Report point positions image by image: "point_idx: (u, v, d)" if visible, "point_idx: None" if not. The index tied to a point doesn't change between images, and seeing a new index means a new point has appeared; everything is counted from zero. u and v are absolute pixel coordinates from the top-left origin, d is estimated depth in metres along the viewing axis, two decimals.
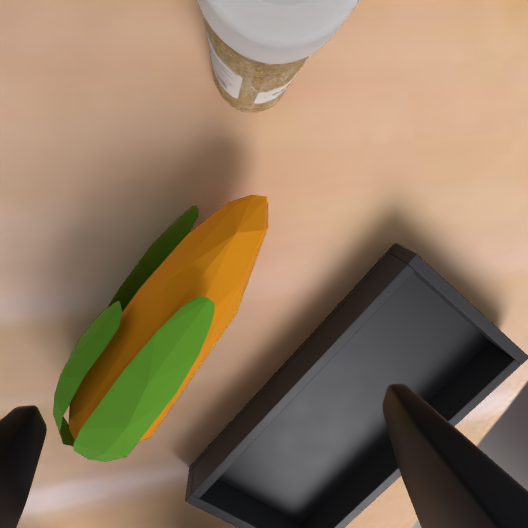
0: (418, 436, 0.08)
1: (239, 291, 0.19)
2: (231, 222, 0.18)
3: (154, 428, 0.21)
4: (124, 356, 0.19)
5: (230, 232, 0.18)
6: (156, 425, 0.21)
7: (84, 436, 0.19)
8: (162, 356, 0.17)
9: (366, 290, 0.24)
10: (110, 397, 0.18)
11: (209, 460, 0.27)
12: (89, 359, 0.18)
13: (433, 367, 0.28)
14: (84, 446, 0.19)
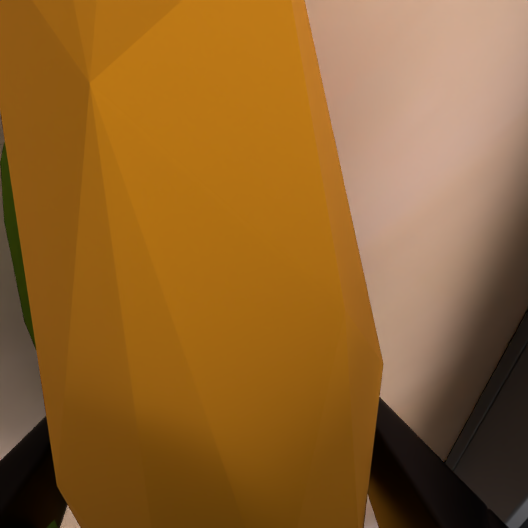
0: (376, 439, 0.08)
1: (360, 340, 0.04)
2: (28, 40, 0.02)
3: None
4: None
5: (63, 113, 0.02)
6: None
7: None
8: None
9: None
10: None
11: None
12: None
13: None
14: None
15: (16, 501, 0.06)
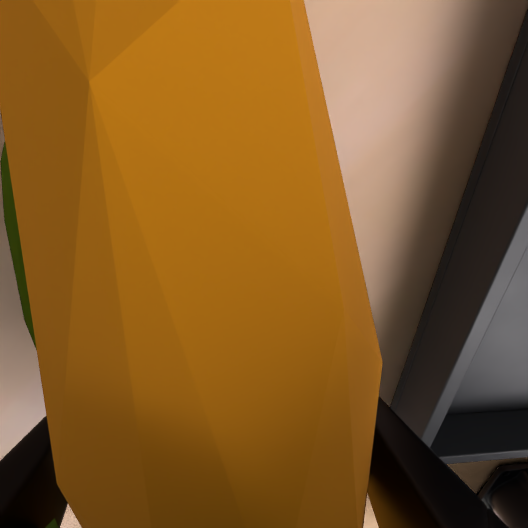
0: (376, 439, 0.08)
1: (359, 339, 0.04)
2: (28, 39, 0.02)
3: None
4: None
5: (64, 111, 0.02)
6: None
7: None
8: None
9: None
10: None
11: (409, 412, 0.18)
12: None
13: None
14: None
15: (16, 501, 0.06)
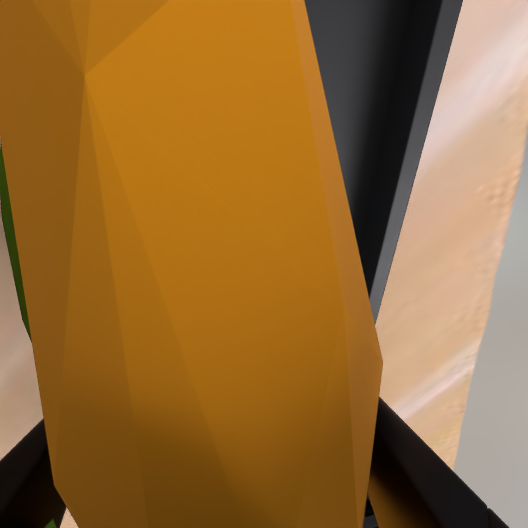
0: (376, 439, 0.08)
1: (359, 338, 0.04)
2: (23, 33, 0.02)
3: None
4: None
5: (59, 107, 0.02)
6: None
7: None
8: None
9: None
10: None
11: None
12: None
13: (350, 68, 0.15)
14: None
15: (16, 501, 0.06)
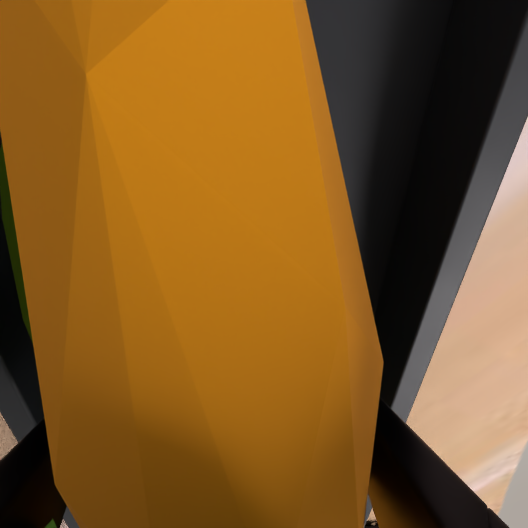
0: (376, 439, 0.08)
1: (360, 338, 0.04)
2: (24, 32, 0.02)
3: None
4: None
5: (59, 106, 0.02)
6: None
7: None
8: None
9: None
10: None
11: None
12: None
13: (350, 85, 0.08)
14: None
15: (16, 501, 0.06)
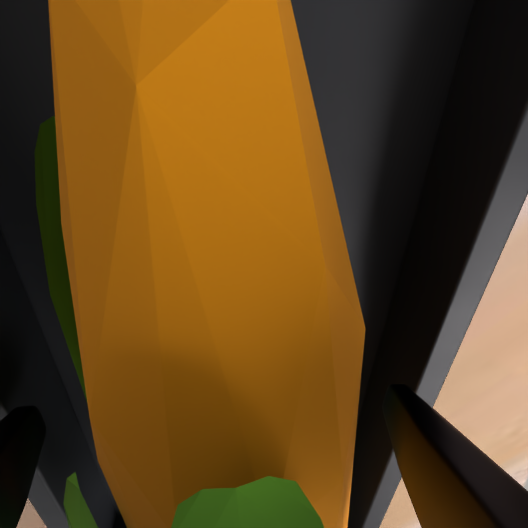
0: (418, 436, 0.08)
1: (340, 296, 0.05)
2: (88, 54, 0.03)
3: None
4: None
5: (113, 107, 0.03)
6: None
7: None
8: None
9: None
10: None
11: None
12: None
13: (361, 95, 0.08)
14: None
15: None
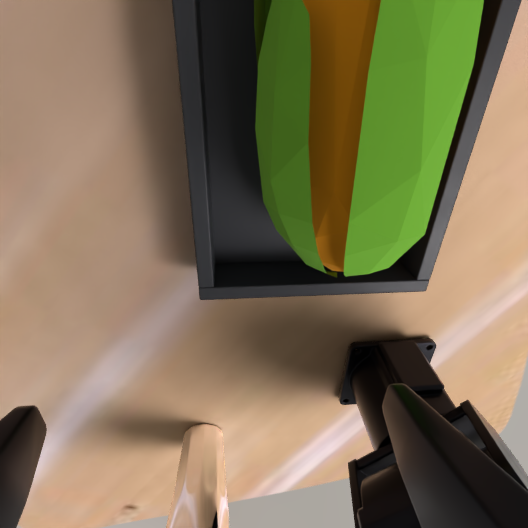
0: (418, 436, 0.08)
1: None
2: None
3: None
4: (344, 73, 0.10)
5: None
6: None
7: (357, 232, 0.12)
8: None
9: None
10: (369, 138, 0.10)
11: None
12: (296, 111, 0.10)
13: None
14: (362, 249, 0.13)
15: None
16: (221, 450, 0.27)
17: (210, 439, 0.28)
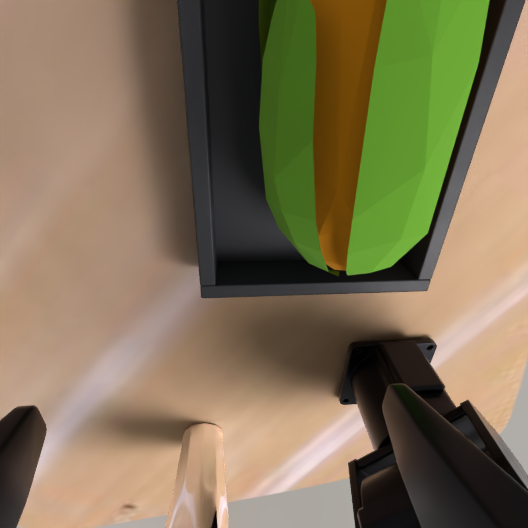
0: (418, 436, 0.08)
1: None
2: None
3: None
4: (349, 71, 0.10)
5: None
6: None
7: (361, 230, 0.12)
8: None
9: None
10: (374, 136, 0.10)
11: None
12: (301, 108, 0.10)
13: None
14: (365, 248, 0.13)
15: None
16: (221, 449, 0.27)
17: (209, 438, 0.28)
